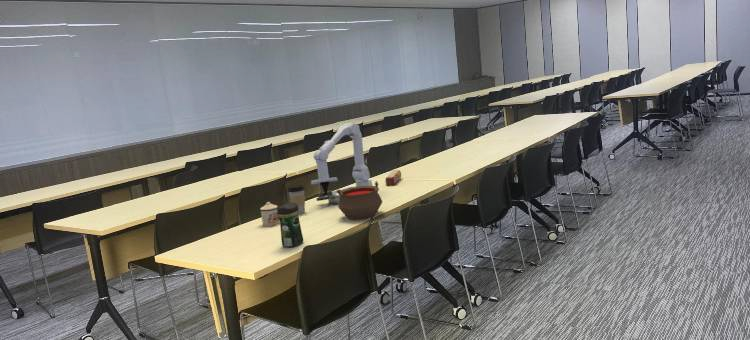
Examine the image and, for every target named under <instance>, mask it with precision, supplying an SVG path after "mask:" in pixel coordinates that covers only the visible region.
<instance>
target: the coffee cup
mask: <svg viewBox="0 0 750 340" xmlns="http://www.w3.org/2000/svg"><path fill="white" fill-rule="evenodd" d="M287 193H288V197H289V201H290V203H296V204H297V205H298V209H299V216H300V215H303V214H305V213H306V209H305V207H306V206H305V205H306V202H305V200H306V199H305V198H306V196H305V187H304V185H302V184H296V185H289V186H288V188H287Z"/></svg>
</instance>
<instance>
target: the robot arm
mask: <svg viewBox="0 0 750 340" xmlns="http://www.w3.org/2000/svg"><path fill="white" fill-rule="evenodd" d="M344 136H348V137H350V138H351V139H352V147H353V157H354V166H353V167H352V173H351V175H352V178H353V180H354V181H355V187H357V186H365V185H367V186H373V181H372V180H370V177H371V174H370V171H369V167H368V166H367V165H366V163H365V157H364V147H363V146H364V145H363V136H362V131H361V130H360V125H359V124H357V123H355V122H348V123H346V122H344V123H341V125H340V126H339V127H338V130H337V131H336V133H334V134H333V136H332V137H331V139H329V140H325V141H324V143H323V144H322V146H320V147H319V148H318V149H316V150H315V151H314V153H313V155H312V156H313V159H314V160H315V163H316V168H317V170H316V171H317V175H318V178H317V179H315V180H310V183H311V186H312V185H317V184H320V185H321V187H322V189H323V192H325V195H326V196H327V191H328V187H329V185H330V183H331V182H338V177H337V176H335V177H330V174H329V168H328V162H327V160H328V158H329V155H330V154H331V152H332V151H333V150H334V149H335V147H336V144H337V143H338V142H339V141H340V140H341V139H342V138H343V137H344Z"/></svg>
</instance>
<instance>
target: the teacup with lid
mask: <svg viewBox="0 0 750 340" xmlns="http://www.w3.org/2000/svg"><path fill="white" fill-rule="evenodd" d="M278 207H279V206H278V205H276V204H273V203H271V202H270V201H268V202H267V201H266V204H264V205H263V206H262V207H260V209H259V210H260V214H261V215H260V216H261V219H262V220H261V222H262V225H263V227H267V228H268V227H274V226H278V225H280V220H279V217H278V215H277V208H278Z"/></svg>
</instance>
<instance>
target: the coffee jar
mask: <svg viewBox="0 0 750 340" xmlns="http://www.w3.org/2000/svg"><path fill="white" fill-rule="evenodd" d="M277 215H278V217H279V221H280V223H279V225H280V237H281V239H280V240H281V245H282V247H284V248H292V247H293V248H294V247H297V246H299V245H300V244H302V243H304V236H303V231H302V227H301V221H300V215H299V209H298V205H297V204H296V203H291V202H288V203H285V204H283V205H281V206H278V208H277Z"/></svg>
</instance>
